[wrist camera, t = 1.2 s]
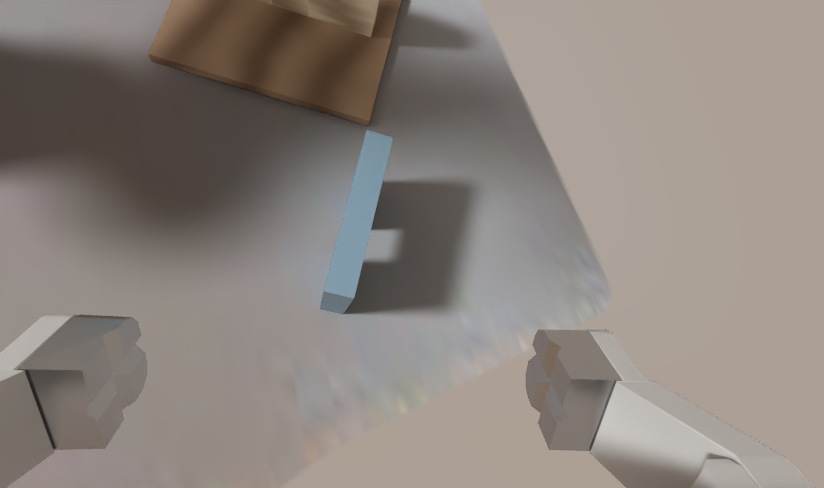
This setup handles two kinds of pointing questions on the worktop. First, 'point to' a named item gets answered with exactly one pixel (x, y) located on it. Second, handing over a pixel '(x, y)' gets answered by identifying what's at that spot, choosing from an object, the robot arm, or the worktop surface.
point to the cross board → (285, 48)
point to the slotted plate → (356, 223)
